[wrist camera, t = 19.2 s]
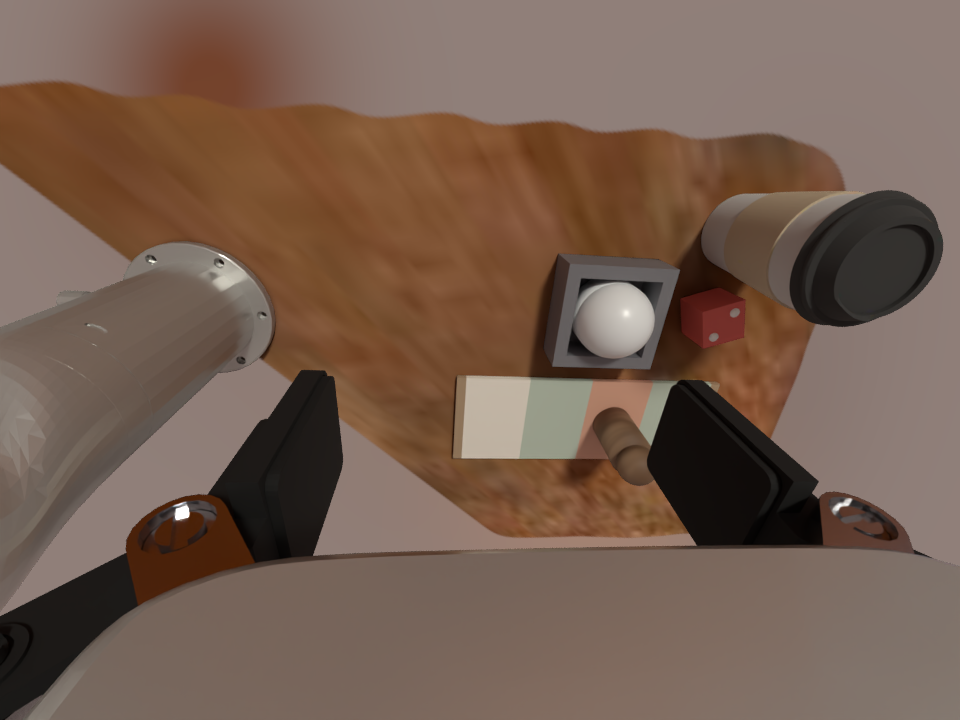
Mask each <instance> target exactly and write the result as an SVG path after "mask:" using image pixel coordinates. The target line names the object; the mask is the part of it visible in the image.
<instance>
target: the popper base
mask: <svg viewBox="0 0 960 720" xmlns="http://www.w3.org/2000/svg"><path fill="white" fill-rule="evenodd" d="M679 272H680V269H677V268H675V267H673V266H671V265H669V264H667V263H665V262H663V261H661V260H659V259H643V258H626V257H608V256H591V255H573V254H558V260H557V266H556V272H555V278H554V285H553V291H552V297H551V303H550V310H549V316H548V322H547V329H546V335H545V341H544V347H543V349H544V351H545V353H546V355H547V357H548V359H549V361H550V363H551V365H552V367H586V368H621V369H650V368H651V365H652V361H653V358H654V355H655V351H656V348H657V345H658V342H659V338H660V335H661V332H662V328H663V325H664V322H665V318H666V315H667V312H668V308H669V305H670V302H671V299H672V295H673V292H674V289H675V285H676V282H677V279H678V275H679ZM592 279H606V280H625V281H627V282H629V283H630V284H632V285H633V286H635V287H636V288H638V289H639V290H640V291H642V292H643V293H644V294H645V295H646V296H647V298H648V299H649V301H650V302H651V304H652V307H653V310H654V315H655V322H654V329H653V332H652V334H651V336H650V338H649V340H648V341H647V343H646V344H645V345H644V346H643V347H642V348H641V349H640V350H638V351H637V352H635V353H633V354H631V355H629V356H626V357H623V358H615V359H612V358H604V357H601V356H598V355H596V354H594V353H592V352H590V351H589V350H588V349H587V348H586V347H585V346H584V345H583V344H582V343H581V341H580V340H579V339H578V337H577V336H576V335H575V333H574V332H573V330H572V323H573V318H574V313H575V308H576V302H577V297H578V292H579V288H580V287H581V286H583V285H584V284H585V283H587V282H588V281H590V280H592Z"/></svg>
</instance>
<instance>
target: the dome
mask: <svg viewBox="0 0 960 720" xmlns="http://www.w3.org/2000/svg"><path fill="white" fill-rule="evenodd" d="M654 322H655V315H654V310H653V307H652V304H651V302H650V301H649V299H648V298H647V296H646V295H645V294H644V293H643V292H642V291H640V290H639V289H638V288H636V287H635V286H633V285H632V284H630V283H629V282H627V281H625V280H606V279H592V280H590V281H588V282H587V283H585V284H584V285H583V286H581V287H580V288H579V292H578V297H577V302H576V308H575V313H574V318H573V323H572V330H573V332H574V333H575V335H576V336H577V337H578V339H579V340H580V341H581V343H582V344H583V345H584V346H585V347H586V348H587V349H588V350H589V351H590V352H592V353H594V354H596V355H598V356H601V357H604V358H612V359H615V358H623V357H626V356H629V355H631V354H633V353H635V352H637V351H638V350H640V349H641V348H642V347H643V346H644V345H645V344H646V343H647V341H648V340H649V338H650V336H651V334H652V332H653V329H654Z"/></svg>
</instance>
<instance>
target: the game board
mask: <svg viewBox="0 0 960 720" xmlns="http://www.w3.org/2000/svg"><path fill="white" fill-rule="evenodd" d="M677 382H678V381H659V380H620V379H580V378H541V377H501V376H462V375H457V386H456V405H455V425H454V444H453V458H502V459H609V458H608V456H607V454H606V453H605V451H604V449H603V447H602V445H601V443H600V441H599V439H598V438H597V436H596V434H595V432H594V430H593V421H594V419H595V417H596V416H597V415H598V414H599V413H600V412H601V411H603V410H605V409H607V408H611V407H619V408H622V409H624V410H625V411H626V412H627V413H628V414H629V416H630V417H631V419H632V420H633V421H634V423H635V424H636V426H637V427H638V428H639V430H640V431H641V433H642V434H643V435H644V437H645V438H646V440H647V441H648V443H649V444H650V445H652V442H653V439H654V436H655V433H656V430H657V427H658V424H659V421H660V418H661V415H662V412H663V409H664V406H665V403H666V400H667V397H668V394H669V391H670V389H671V387H672V386H673V385H676V384H677ZM705 383H706V384H708V385H709V386H710V387H711V388H712V389H713V390H715V391H716V392H717V391H718V388H719V386H720V384H719V383H717V382H705Z"/></svg>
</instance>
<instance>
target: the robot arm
mask: <svg viewBox="0 0 960 720" xmlns="http://www.w3.org/2000/svg"><path fill="white" fill-rule="evenodd" d="M221 259H222V260H223V262H224V263H223V262H222V260H221ZM56 303H57V306H55V307H52V308H49V309H47V310H44V311H42V312H39V313H36V314H34V315H31V316H29V317H26V318H23V319H21V320H18V321H15V322H13V323H10V324H8V325H5V326H2V327H0V611H1V610H2V609H3V607H4V606H5V605H6V604H7V602H8V601H9V600H10V598H11V597H12V596H13V595H14V593H15V592H16V591H17V589H18V588H19V587H20V585H21V584H22V582H23V581H24V580H25V578H26V577H27V575H28V574H29V572H30V571H31V570H32V568H33V567H34V565H35V564H36V562H37V561H38V560H39V558H40V557H41V555H42V554H43V552H44V551H45V549H46V548H47V547H48V546H49V544H50V543H51V542H52V541H53V539H54V538H55V537H56V535H57V534H58V533H59V531H60V530H61V529H62V527H63V526H64V525H65V524H66V522H67V521H68V520H69V519H70V518H71V517H72V515H73V514H74V513H75V512H76V511H77V509H78V508H79V507H80V506H81V505H82V504H83V503H84V502H85V501H86V500H87V499H88V498H89V497H90V495H91V494H92V493H93V492H94V491H95V490H96V489H97V488H98V487H99V486H100V485H101V484H102V483H103V482H104V481H105V480H106V479H107V478H108V477H109V476H110V475H111V474H112V473H113V472H114V471H115V470H116V469H117V468H118V467H119V466H120V465H121V464H122V463H123V462H124V461H125V460H126V459H127V458H128V457H129V456H130V455H132V454H133V453H134V452H135V451H136V450H137V449H138V448H139V447H140V446H141V445H142V444H143V443H144V442H145V441H146V440H147V439H149V438H150V437H151V436H152V435H153V434H154V433H155V432H156V431H157V430H158V429H159V428H160V427H161V426H162V425H163V424H164V423H165V422H167V421H168V420H169V419H170V418H171V417H172V416H173V415H174V414H175V413H176V412H177V411H178V410H179V409H180V408H181V407H182V406H183V405H184V404H186V403H187V402H188V401H189V400H190V399H191V398H192V397H193V396H194V395H195V394H196V393H197V392H198V391H199V390H200V389H201V388H202V387H203V386H205V385H206V384H207V383H208V382H209V381H210V380H211V379H212V378H213V377H214V376H215V375H216V374H217V373H223V372H231V371H235V370H239V369H242V368H244V367H246V366H248V365H250V364H252V363H253V362H254V361H256V360H257V359H258V358H259V357H260V356H261V355H262V354H263V353H264V352H265V351H266V349H267V348H268V346H269V345H270V343H271V341H272V338H273V335H274V331H275V314H274V308H273V305H272V302H271V299H270V297H269V295H268V293H267V291H266V290H265V288H264V286H263V285H262V283H261V282H260V281H259V279H258V278H257V277H256V276H255V274H254V273H253V272H251V271H250V270H249V269H248V268H247V267H246V266H245V265H244V264H243V263H241V262H240V261H238V260H237V259H236V258H234V257H233V256H231V255H229V254H227V253H225V252H223V251H221V250H219V249H217V248H215V247H211V246H208V245H205V244H202V243H195V242H188V241H180V242H169V243H165V244H161V245H158V246H155V247H152V248H150V249H147V250H145V251H144V252H142V253H141V254H140V255H138V256H137V257H136V258H135V259H134V260H133V261H132V262H131V264H130V265H129V266H128V268H127V271H126V273H125V275H124V279H123V281H120V282H117V283H115V284H112V285H110V286H107V287H104V288H102V289H99V290H97V291H94V292H84V291H63V292H60V293H59V295H58V296H57V300H56ZM263 312H264V313H266V315H265V314H264V313H263ZM342 465H343V453H342V444H341V435H340V425H339V416H338V407H337V398H336V389H335V381H334V377H333V376H327V373H326V372H325V371H320V370H301V371H300V373H299V374H298V375H297V377H296V378H295V380H294V381H293V383H292V384H291V386H290V387H289V389H288V390H287V392H286V393H285V395H284V396H283V398H282V399H281V401H280V402H279V403H278V405H277V406H276V408H275V409H274V411H273V412H272V414H271V415H270V417H269V418H268V419H264V420H261V421H260V422H259V423H258V424H257V426H256V427H255V428H254V430H253V431H252V433H251V434H250V435H249V437H248V438H247V440H246V441H245V442H244V444H243V445H242V447H241V448H240V449H239V451H238V452H237V454H236V455H235V457H234V458H233V459H232V461H231V462H230V464H229V465H228V467H227V468H226V469H225V471H224V472H223V474H222V475H221V476H220V478H219V479H218V481H217V482H216V483H215V485H214V486H213V488H212V489H211V490H210V492H209V493H208V495H200V494H198V495H191V496H185V497H181V498H178V499H175V500H172V501H170V502H168V503H166V504H164V505H162V506H160V507H158V508H156V509H154V510H153V511H151V512H150V513H149V514H147V515H146V516H145V517H143V518H142V519H141V520H140V521H139V522H138V523H137V524H136V525H135V526H134V527H133V528H132V530H131V532H130V534H129V536H128V537H127V539H126V553H125V554H123V555H121V556H119V557H117V558H115V559H113V560H111V561H109V562H107V563H105V564H103V565H101V566H99V567H97V568H95V569H93V570H91V571H89V572H87V573H86V574H83V575H81V576H79V577H78V578H75V579H73V580H71V581H69V582H68V583H66V584H63V585H62V586H59V587H58V588H56V589H54V590H52V591H50V592H48V593H46V594H44V595H42V596H40V597H38V598H36V599H34V600H32V601H30V602H28V603H26V604H24V605H22V606H20V607H18V608H16V609H14V610H12V611H10V612H8V613H6V614H4V615H2V616H0V720H960V566H957V565H954V564H951V563H947V562H943V561H940V560H936V559H933V558H931V557H929V556H927V555H925V554H922V553H920V552H918V551H916V550H913V548H912V545H911V542H910V539H909V536H908V534H907V532H906V531H905V529H904V528H903V527H902V526H901V524H899V522H897V521H896V519H894V518H893V517H892V516H890V515H889V514H887V513H886V512H885V511H884V510H882V509H880V508H879V507H877V506H875V505H873V504H871V503H870V502H867V501H865V500H863V499H861V498H858V497H855V496H852V495H849V494H846V493H840V492H826V493H824V494H822V495H821V496H820V498H819V499H817V497H815V496H814V495H813V494H812V492H813V490H814V489H815V487H816V485H817V484H818V480H817V479H815V478H814V477H813V476H812V475H811V474H810V473H809V472H807V471H806V470H805V469H804V468H803V467H802V466H800V465H799V464H798V463H797V462H796V461H795V460H794V459H792V458H791V457H790V456H789V455H788V454H787V453H786V452H784V451H783V450H782V449H781V448H780V447H779V446H778V445H776V444H775V443H774V442H773V441H772V440H771V439H770V438H768V437H767V436H766V435H765V434H764V433H763V432H762V431H760V430H759V429H758V428H757V427H756V426H755V425H753V424H752V423H751V422H750V421H749V420H748V419H747V418H745V417H744V416H743V415H742V414H741V413H740V412H739V411H737V410H736V409H735V408H734V407H733V406H732V405H731V404H729V403H728V402H727V401H726V400H725V399H724V398H723V397H721V396H720V395H719V394H718V393H717V392H716V391H715V390H713V389H712V388H711V387H710V386H709V385H708V384H706V383H705V382H704V381H702V380H680V381H678V382H677V384H676V385H673V386H672V387H671V389H670V391H669V394H668V397H667V400H666V403H665V406H664V409H663V412H662V415H661V418H660V421H659V424H658V427H657V430H656V433H655V436H654V439H653V442H652V445H651V448H650V451H649V454H648V457H647V467H648V470H649V472H650V473H651V475H652V476H653V478H654V479H655V481H656V483H657V484H658V486H659V487H660V489H661V490H662V492H663V493H664V495H665V497H666V498H667V500H668V501H669V503H670V504H671V506H672V507H673V509H674V511H675V512H676V514H677V515H678V517H679V518H680V520H681V521H682V523H683V524H684V526H685V528H686V529H687V531H688V532H689V534H690V535H691V537H692V538H693V540H694V541H695V543H696V545H697V546H645V547H644V546H642V547H590V548H589V547H587V548H534V549H493V550H450V551H411V552H381V553H354V554H335V555H320V556H313V554H314V550H315V548H316V545H317V542H318V539H319V535H320V533H321V530H322V527H323V524H324V521H325V518H326V515H327V512H328V509H329V506H330V503H331V500H332V497H333V494H334V491H335V488H336V485H337V482H338V479H339V476H340V473H341V470H342Z"/></svg>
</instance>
